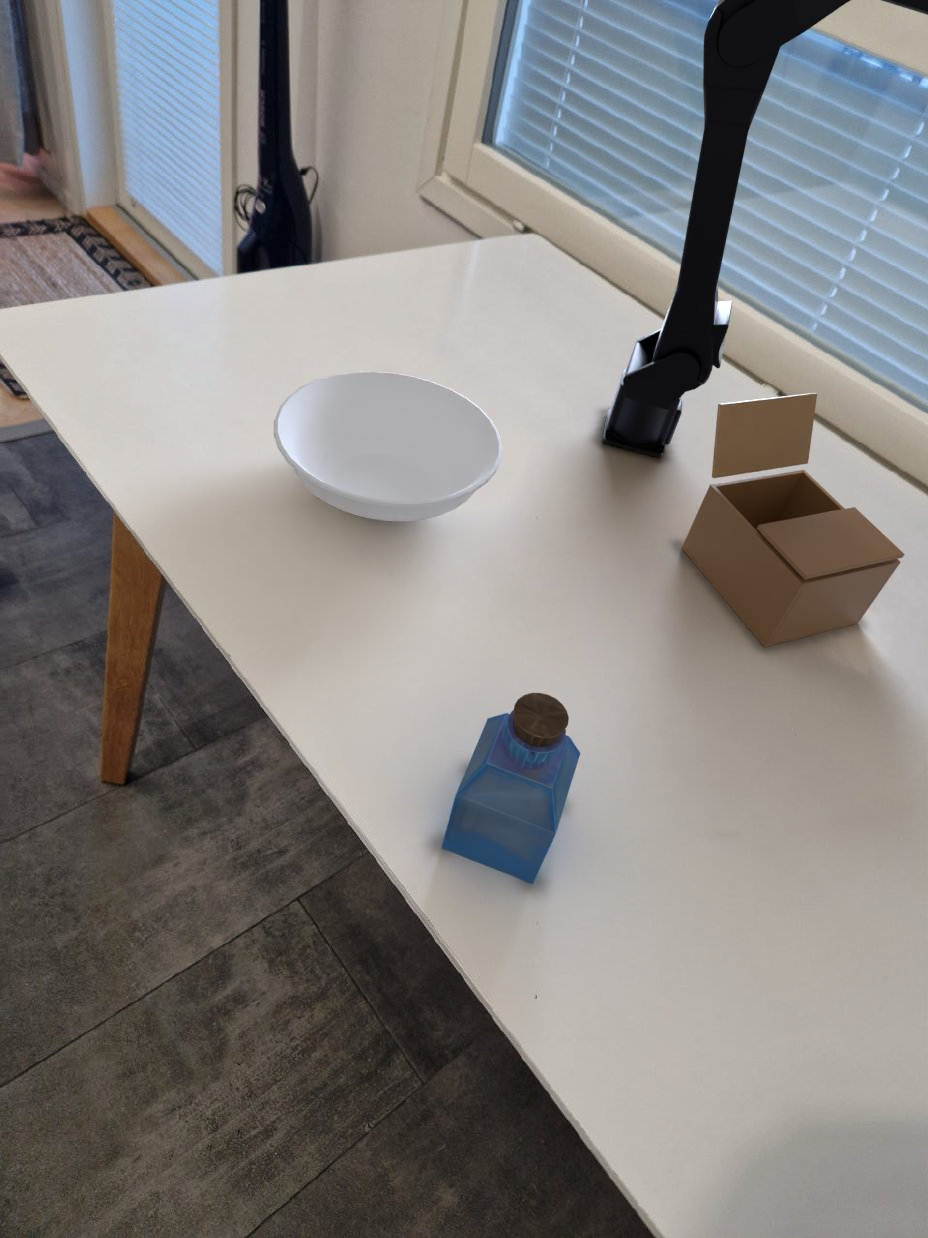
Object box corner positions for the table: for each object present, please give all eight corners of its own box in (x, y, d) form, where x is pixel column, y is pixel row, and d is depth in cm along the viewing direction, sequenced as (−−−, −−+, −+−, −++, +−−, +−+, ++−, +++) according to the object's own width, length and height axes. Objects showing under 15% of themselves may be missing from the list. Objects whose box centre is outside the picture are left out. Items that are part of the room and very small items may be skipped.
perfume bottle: (557, 806, 59) (605, 695, 50) (533, 884, 54) (581, 777, 46) (472, 773, 59) (505, 658, 51) (441, 847, 55) (471, 735, 47)
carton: (681, 548, 80) (713, 476, 75) (771, 530, 84) (807, 462, 79) (764, 647, 73) (806, 576, 67) (858, 623, 77) (906, 554, 71)
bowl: (533, 505, 81) (548, 449, 77) (378, 597, 70) (385, 537, 65) (388, 405, 89) (394, 349, 85) (227, 473, 78) (224, 412, 73)
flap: (714, 478, 75) (711, 477, 75) (808, 463, 79) (805, 462, 79) (720, 404, 72) (717, 403, 72) (817, 393, 76) (814, 392, 76)
